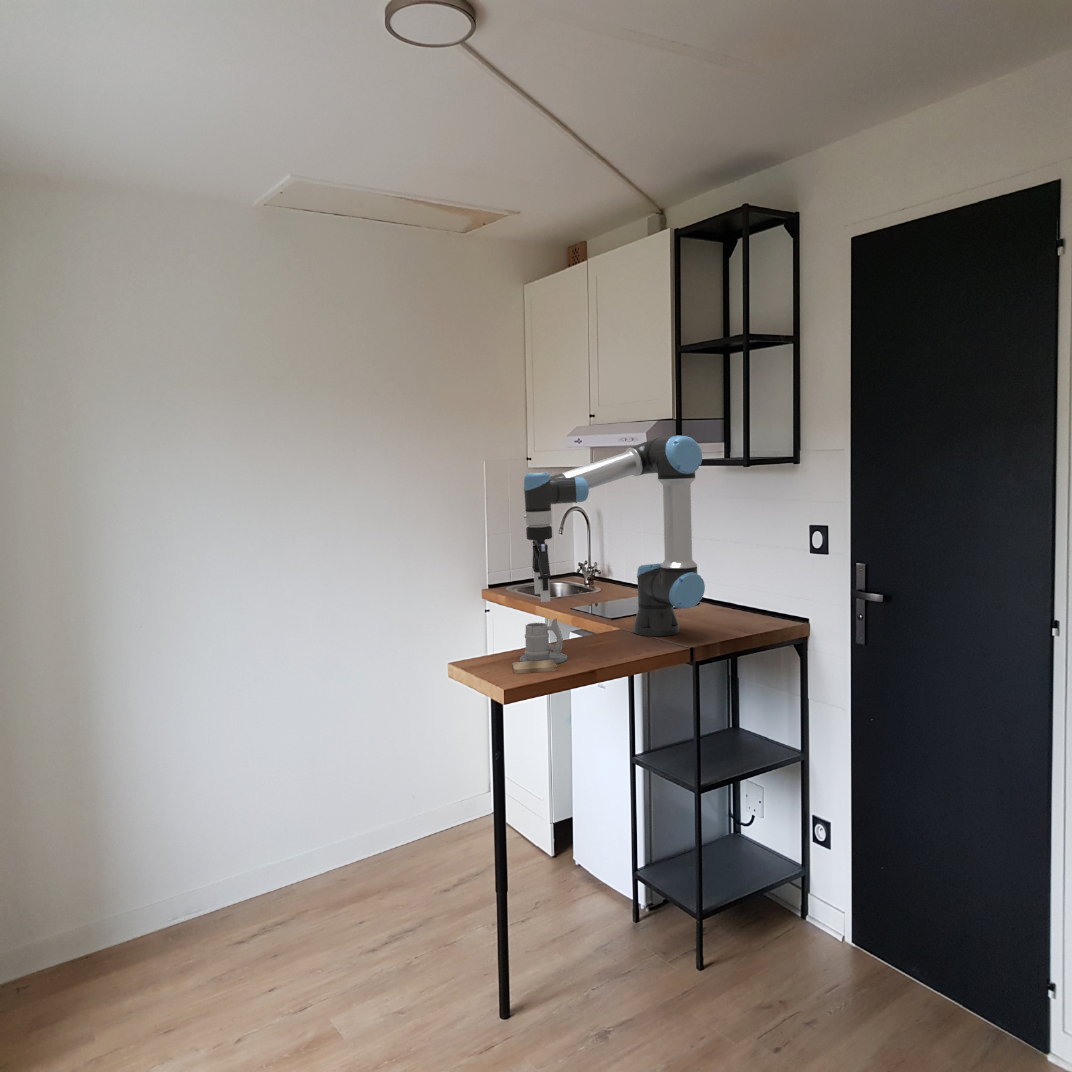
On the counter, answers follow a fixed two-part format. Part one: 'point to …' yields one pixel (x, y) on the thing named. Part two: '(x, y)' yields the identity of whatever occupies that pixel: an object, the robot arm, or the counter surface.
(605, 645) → the counter surface
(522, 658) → the coaster
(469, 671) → the counter surface
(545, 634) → the mug
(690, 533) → the robot arm
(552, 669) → the small board
